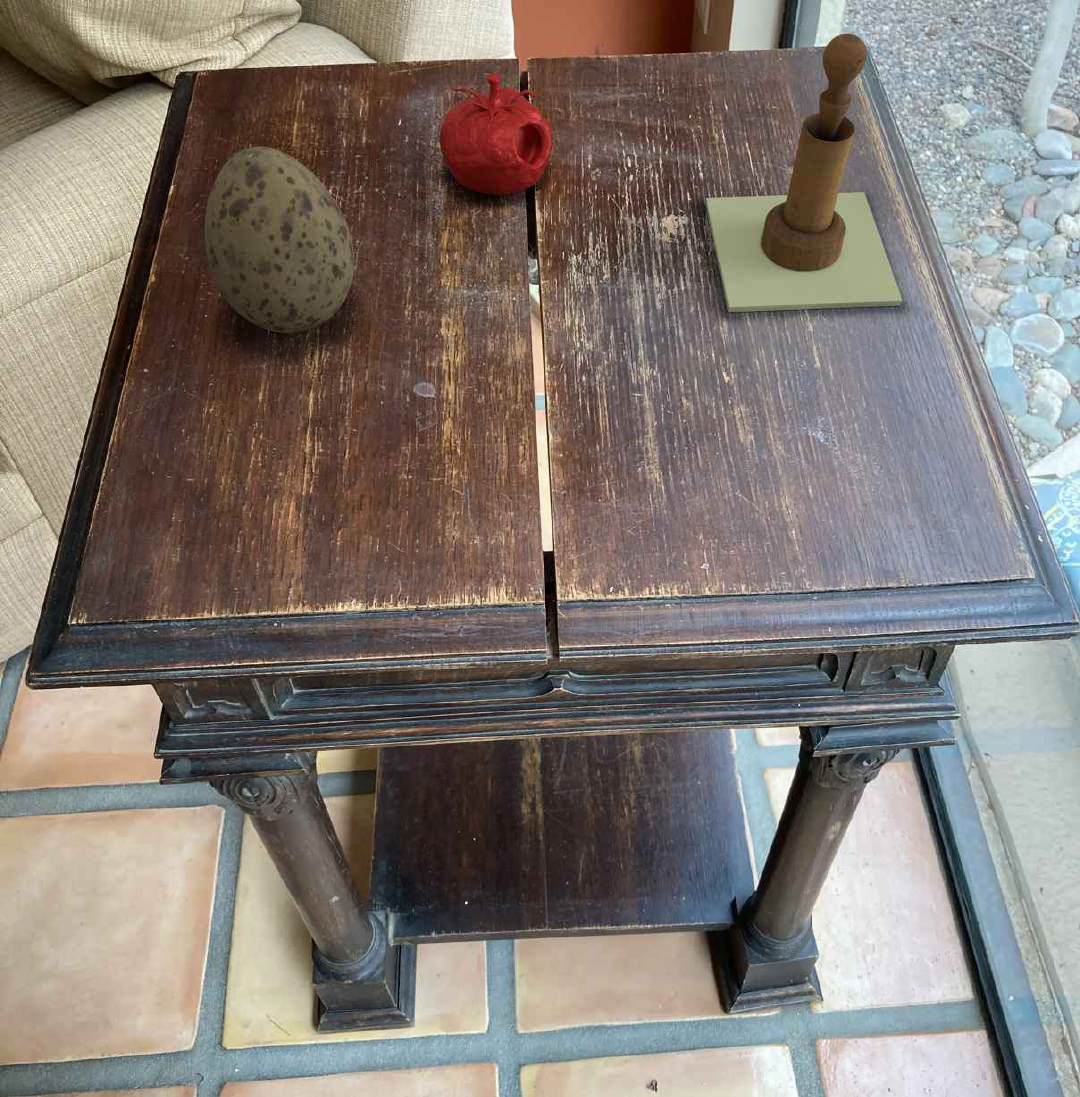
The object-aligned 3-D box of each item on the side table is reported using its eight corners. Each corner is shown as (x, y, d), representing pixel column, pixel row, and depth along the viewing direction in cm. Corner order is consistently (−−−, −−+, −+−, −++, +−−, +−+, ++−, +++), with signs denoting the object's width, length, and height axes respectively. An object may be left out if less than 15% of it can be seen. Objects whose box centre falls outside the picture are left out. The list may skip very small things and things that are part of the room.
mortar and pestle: (845, 229, 89) (902, 21, 75) (835, 278, 86) (893, 70, 71) (767, 216, 90) (808, 8, 76) (754, 264, 87) (795, 56, 72)
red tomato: (437, 208, 93) (426, 112, 85) (449, 141, 98) (440, 45, 91) (549, 211, 92) (548, 115, 84) (555, 143, 98) (555, 47, 90)
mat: (900, 305, 85) (902, 300, 84) (727, 312, 84) (728, 306, 84) (862, 197, 93) (864, 191, 92) (704, 203, 92) (705, 197, 92)
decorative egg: (210, 304, 86) (152, 140, 74) (329, 256, 89) (293, 92, 77) (264, 384, 81) (211, 222, 68) (388, 330, 84) (359, 166, 71)
